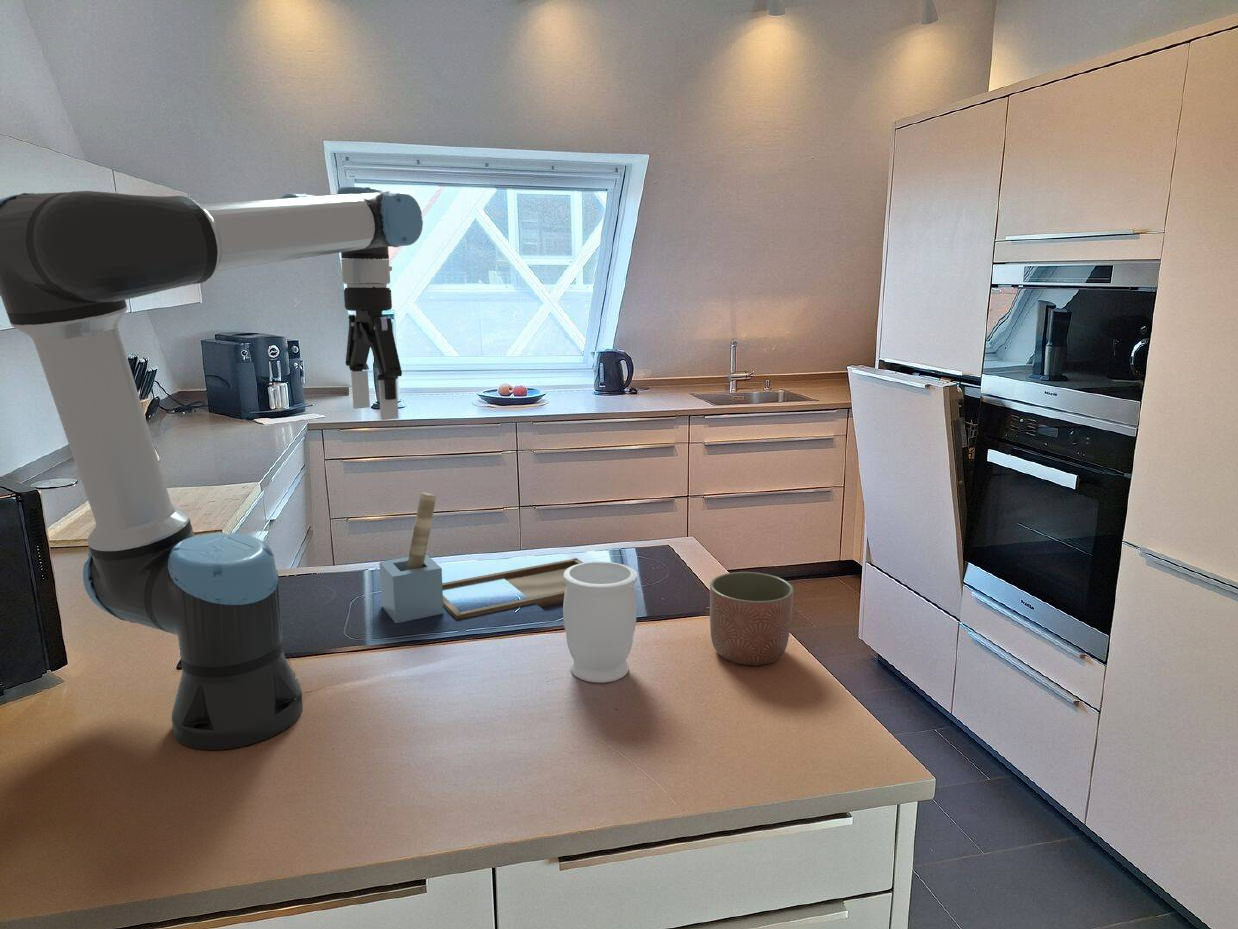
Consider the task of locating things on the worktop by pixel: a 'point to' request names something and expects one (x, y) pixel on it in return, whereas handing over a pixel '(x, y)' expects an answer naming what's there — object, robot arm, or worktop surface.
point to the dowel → (421, 531)
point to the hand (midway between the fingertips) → (375, 413)
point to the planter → (750, 616)
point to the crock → (411, 589)
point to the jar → (599, 619)
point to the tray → (521, 587)
